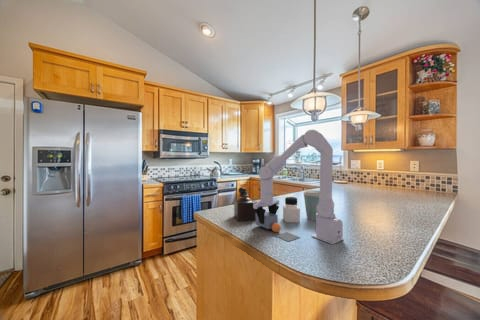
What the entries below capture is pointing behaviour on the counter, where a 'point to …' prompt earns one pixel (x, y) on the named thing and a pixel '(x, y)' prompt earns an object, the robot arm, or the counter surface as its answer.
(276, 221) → the blue-gray rectangular block
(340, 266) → the counter surface
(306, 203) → the disposable coffee cup
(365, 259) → the counter surface
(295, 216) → the medicine bottle
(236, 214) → the dark brown boxy bottle
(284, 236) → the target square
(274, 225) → the ball
